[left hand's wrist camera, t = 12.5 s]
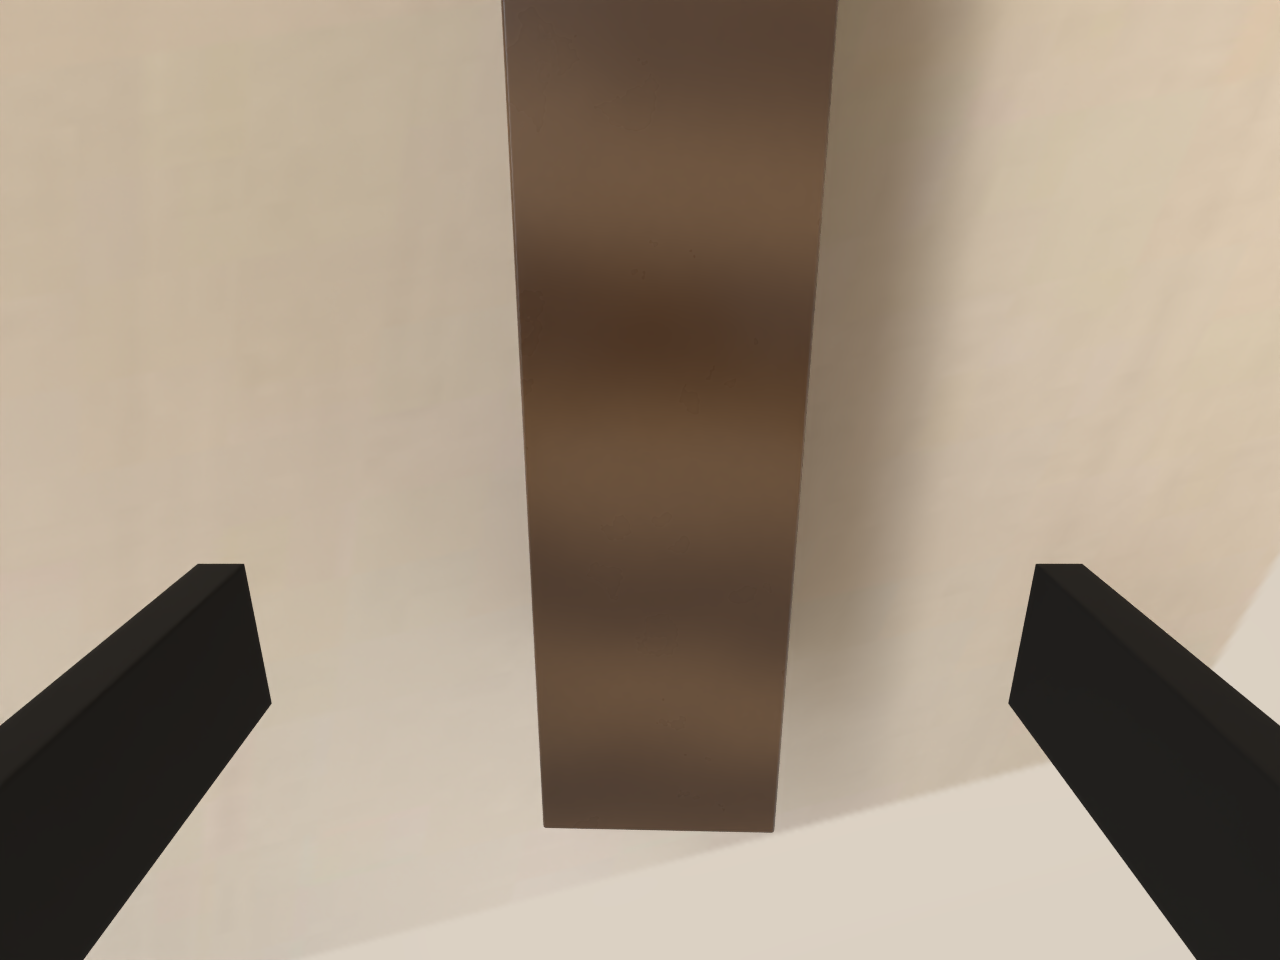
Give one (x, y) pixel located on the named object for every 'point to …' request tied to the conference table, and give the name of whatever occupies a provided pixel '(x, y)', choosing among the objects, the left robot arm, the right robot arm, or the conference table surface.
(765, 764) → the bar
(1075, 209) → the conference table surface
